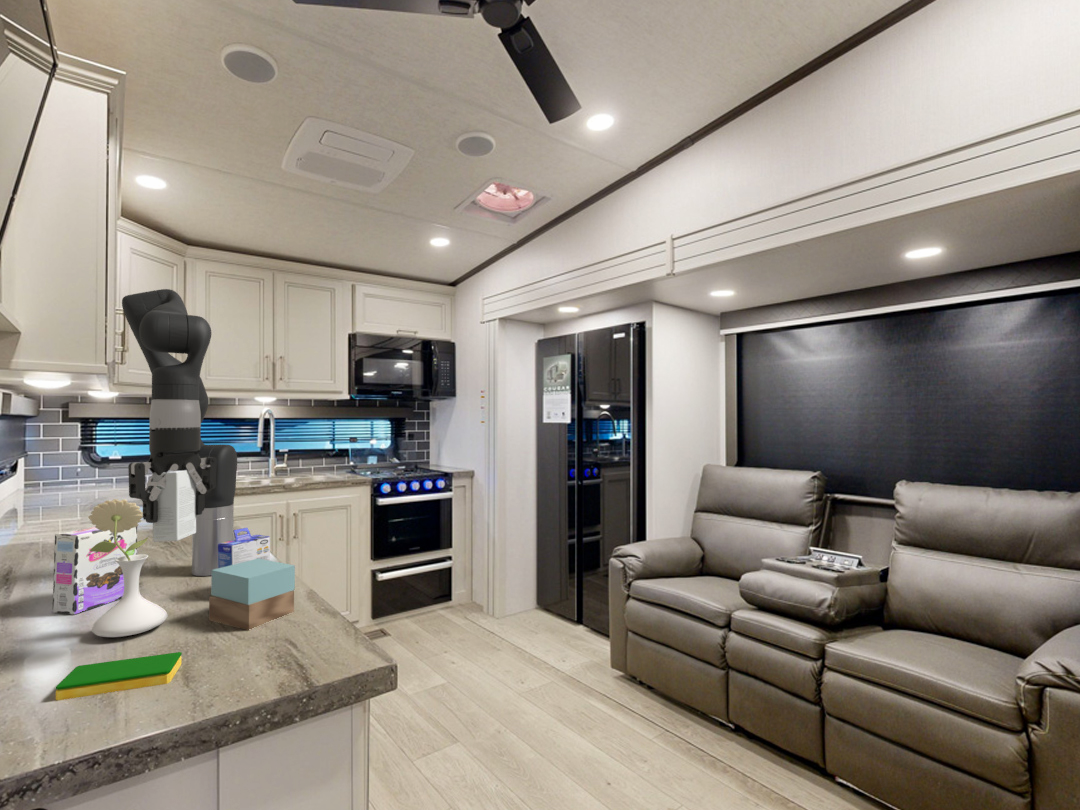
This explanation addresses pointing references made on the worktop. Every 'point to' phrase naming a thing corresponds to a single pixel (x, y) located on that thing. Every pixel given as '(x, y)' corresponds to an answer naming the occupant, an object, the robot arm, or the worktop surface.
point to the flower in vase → (124, 574)
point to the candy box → (88, 569)
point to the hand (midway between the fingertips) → (174, 518)
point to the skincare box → (175, 507)
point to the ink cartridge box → (243, 549)
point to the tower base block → (250, 610)
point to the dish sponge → (119, 675)
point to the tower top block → (253, 581)
